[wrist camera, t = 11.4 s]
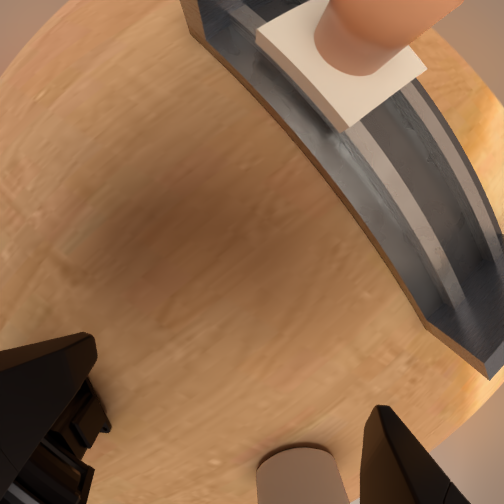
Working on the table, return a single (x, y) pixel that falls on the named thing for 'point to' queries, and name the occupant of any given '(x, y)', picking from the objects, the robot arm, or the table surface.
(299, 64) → the carriage
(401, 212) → the rail
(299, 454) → the can
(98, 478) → the table surface
